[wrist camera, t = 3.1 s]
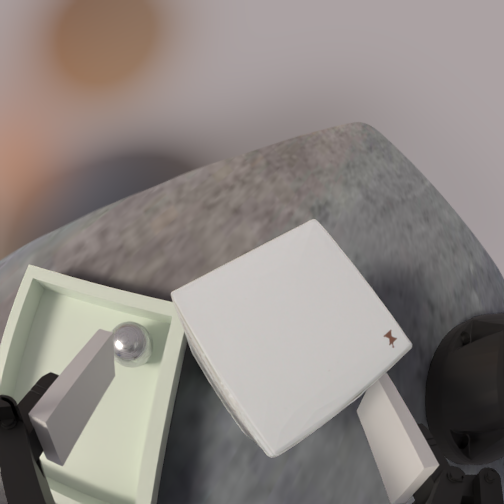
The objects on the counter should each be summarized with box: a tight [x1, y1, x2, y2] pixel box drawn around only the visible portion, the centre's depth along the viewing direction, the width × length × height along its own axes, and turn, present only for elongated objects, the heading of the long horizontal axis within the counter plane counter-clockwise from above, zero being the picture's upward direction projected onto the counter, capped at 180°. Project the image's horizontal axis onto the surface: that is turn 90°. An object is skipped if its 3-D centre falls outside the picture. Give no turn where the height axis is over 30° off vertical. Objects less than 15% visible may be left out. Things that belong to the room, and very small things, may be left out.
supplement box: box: [171, 219, 412, 458], centre depth 17 cm, size 7×7×13 cm
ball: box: [111, 321, 153, 368], centre depth 19 cm, size 3×3×3 cm
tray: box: [0, 264, 187, 504], centre depth 18 cm, size 14×17×3 cm
